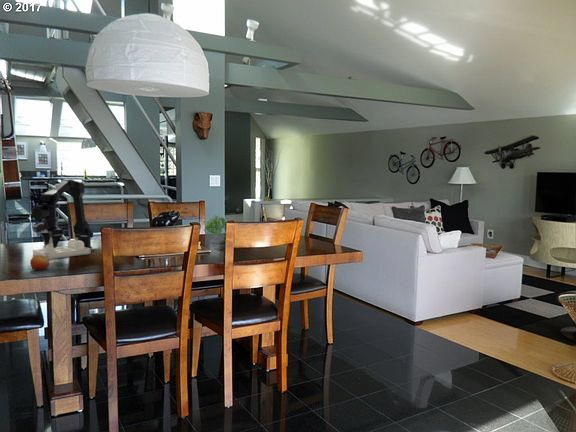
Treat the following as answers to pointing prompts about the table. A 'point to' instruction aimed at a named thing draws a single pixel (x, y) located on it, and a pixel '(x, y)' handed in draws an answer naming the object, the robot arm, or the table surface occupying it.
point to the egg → (50, 248)
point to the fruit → (39, 263)
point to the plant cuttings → (215, 226)
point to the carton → (66, 250)
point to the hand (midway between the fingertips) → (50, 246)
